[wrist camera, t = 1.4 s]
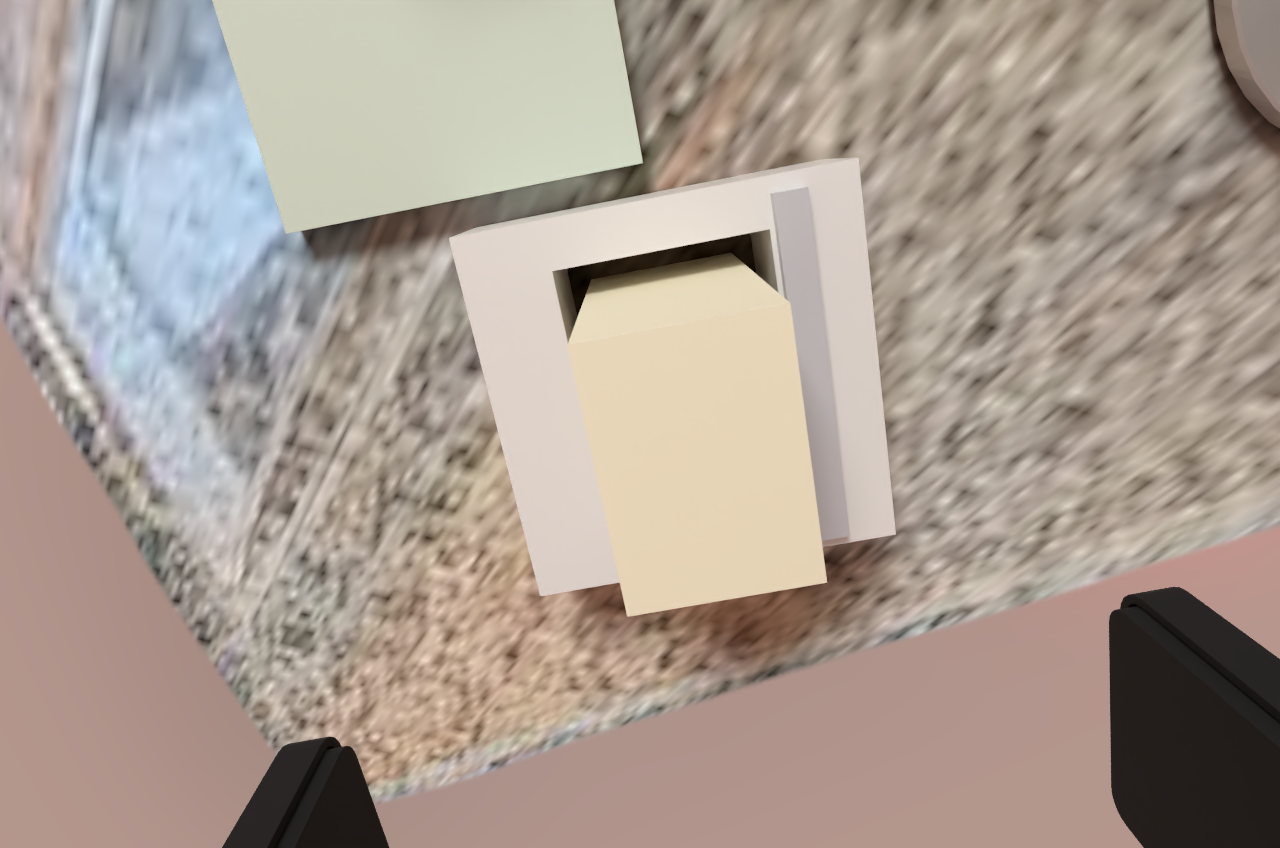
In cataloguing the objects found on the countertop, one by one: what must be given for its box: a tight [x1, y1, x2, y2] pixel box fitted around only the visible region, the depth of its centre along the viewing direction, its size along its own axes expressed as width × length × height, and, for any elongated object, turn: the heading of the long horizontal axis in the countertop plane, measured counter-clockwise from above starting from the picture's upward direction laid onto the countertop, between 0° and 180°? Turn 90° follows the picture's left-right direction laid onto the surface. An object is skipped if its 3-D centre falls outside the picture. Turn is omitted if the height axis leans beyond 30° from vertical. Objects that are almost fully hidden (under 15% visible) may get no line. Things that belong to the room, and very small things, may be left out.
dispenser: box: [449, 158, 896, 596], centre depth 27 cm, size 12×12×5 cm
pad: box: [212, 0, 643, 234], centre depth 25 cm, size 12×9×1 cm
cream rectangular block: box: [568, 253, 827, 617], centre depth 24 cm, size 5×7×11 cm
